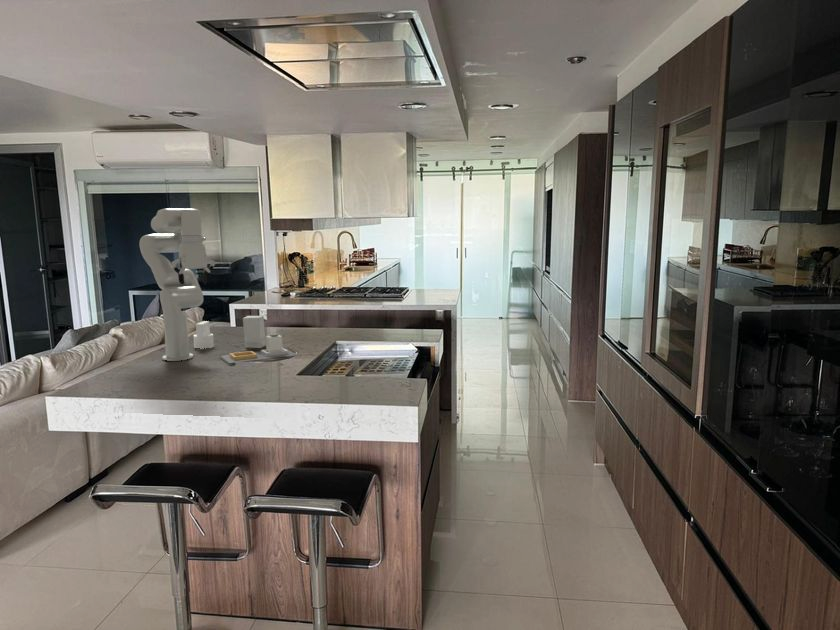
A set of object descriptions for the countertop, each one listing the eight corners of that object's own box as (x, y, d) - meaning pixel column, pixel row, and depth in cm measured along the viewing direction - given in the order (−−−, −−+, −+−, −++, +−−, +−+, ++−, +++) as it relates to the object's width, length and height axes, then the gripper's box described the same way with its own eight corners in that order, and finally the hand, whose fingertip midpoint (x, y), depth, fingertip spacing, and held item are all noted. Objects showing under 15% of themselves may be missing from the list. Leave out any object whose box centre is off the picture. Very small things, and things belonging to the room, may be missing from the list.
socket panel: (220, 358, 254) (220, 352, 253) (285, 350, 270) (285, 345, 269) (229, 365, 240) (229, 359, 240) (297, 357, 256) (297, 351, 256)
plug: (266, 353, 259) (265, 334, 257) (279, 352, 262) (278, 333, 260) (269, 355, 255) (268, 335, 254) (282, 353, 258) (281, 334, 257)
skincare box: (265, 347, 277) (264, 315, 274) (260, 350, 270) (259, 317, 268) (249, 346, 277) (247, 315, 275) (243, 349, 271) (242, 317, 268)
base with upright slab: (209, 349, 272) (208, 324, 270) (190, 349, 272) (189, 324, 270) (216, 345, 281) (215, 321, 279) (198, 345, 281) (197, 321, 279)
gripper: (210, 239, 236) (212, 281, 238) (166, 240, 225) (169, 283, 228) (217, 240, 230) (219, 282, 233) (172, 240, 219) (174, 285, 222)
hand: (194, 283), depth 230 cm, fingers open, 9 cm apart
